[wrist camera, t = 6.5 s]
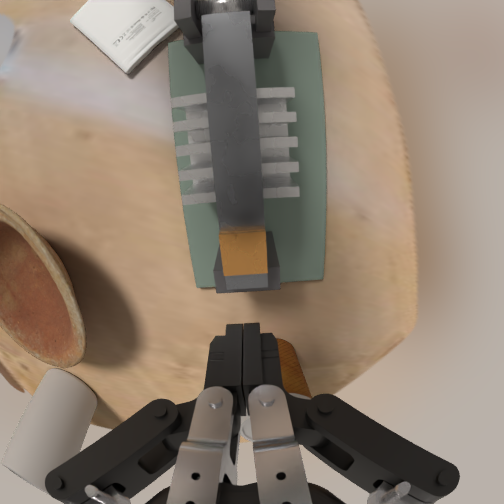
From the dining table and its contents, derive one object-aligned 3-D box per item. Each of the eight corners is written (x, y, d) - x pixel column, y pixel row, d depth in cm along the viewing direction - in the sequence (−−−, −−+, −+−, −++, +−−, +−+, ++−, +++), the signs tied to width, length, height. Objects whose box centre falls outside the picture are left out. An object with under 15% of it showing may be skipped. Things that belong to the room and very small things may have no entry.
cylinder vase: (60, 359, 38) (7, 466, 15) (109, 400, 42) (75, 506, 20) (40, 373, 41) (-4, 460, 18) (82, 408, 45) (50, 496, 22)
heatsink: (194, 105, 23) (170, 94, 15) (279, 98, 23) (294, 83, 15) (202, 185, 26) (183, 208, 19) (284, 179, 26) (299, 200, 18)
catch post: (222, 231, 28) (213, 271, 21) (271, 228, 28) (279, 266, 21) (224, 249, 29) (216, 293, 21) (272, 246, 29) (280, 289, 21)
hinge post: (197, 23, 19) (169, -29, 9) (264, 17, 19) (273, -40, 9) (199, 66, 21) (169, 28, 11) (268, 60, 21) (281, 16, 11)
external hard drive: (126, -24, 15) (190, 21, 19) (75, 24, 17) (130, 75, 21) (121, -30, 14) (187, 16, 18) (68, 21, 16) (124, 73, 20)
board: (170, 44, 20) (168, 42, 19) (315, 35, 20) (317, 32, 19) (197, 283, 31) (196, 287, 30) (321, 275, 31) (323, 279, 30)
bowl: (-5, 168, 23) (-44, 182, 16) (125, 221, 28) (90, 253, 20) (1, 297, 32) (-24, 322, 25) (105, 356, 36) (87, 393, 29)
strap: (199, 6, 12) (194, -5, 11) (252, 0, 12) (253, -11, 11) (224, 281, 21) (222, 294, 19) (270, 278, 21) (272, 291, 19)
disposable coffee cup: (224, 361, 36) (218, 435, 25) (261, 317, 33) (267, 398, 22) (279, 382, 38) (286, 450, 28) (320, 344, 35) (340, 417, 24)
